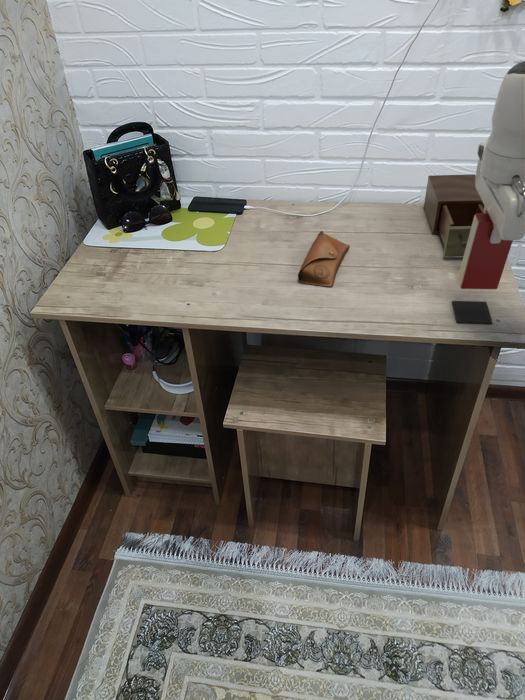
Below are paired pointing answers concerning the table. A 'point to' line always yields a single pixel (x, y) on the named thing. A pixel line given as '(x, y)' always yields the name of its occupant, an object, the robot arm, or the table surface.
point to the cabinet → (448, 195)
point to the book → (483, 256)
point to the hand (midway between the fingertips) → (491, 235)
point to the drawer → (457, 226)
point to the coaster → (471, 312)
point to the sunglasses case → (322, 261)
